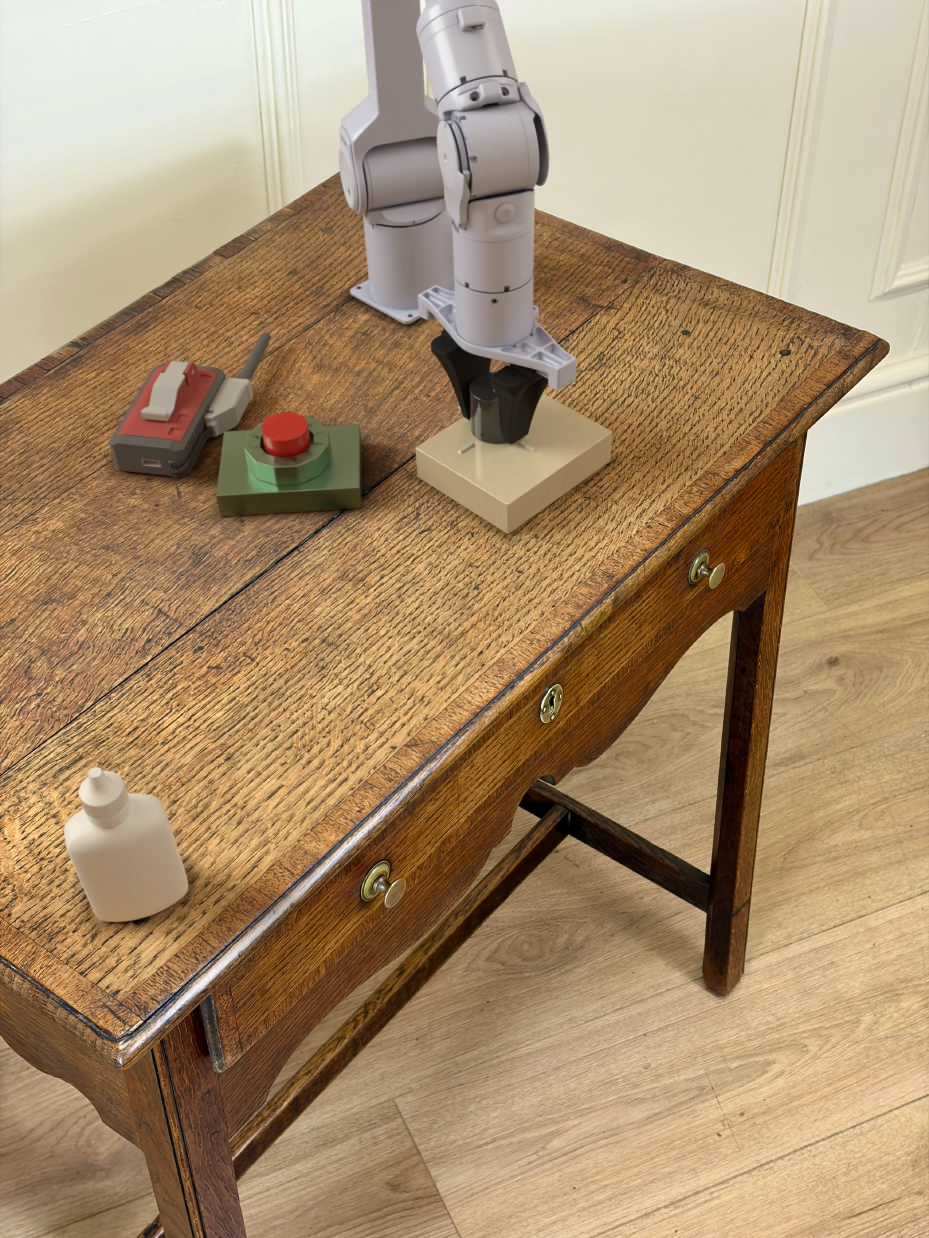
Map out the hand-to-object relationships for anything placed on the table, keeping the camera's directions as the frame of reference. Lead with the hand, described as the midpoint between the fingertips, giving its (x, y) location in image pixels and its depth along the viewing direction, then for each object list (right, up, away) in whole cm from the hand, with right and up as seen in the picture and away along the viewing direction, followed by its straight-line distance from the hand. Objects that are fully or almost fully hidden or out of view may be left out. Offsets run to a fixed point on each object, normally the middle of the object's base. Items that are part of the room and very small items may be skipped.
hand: (496, 425), depth 103 cm
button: (-16, -2, -1) cm, 16 cm away
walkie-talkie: (-25, +2, +8) cm, 27 cm away
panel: (+1, -3, +1) cm, 4 cm away
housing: (-16, -4, +1) cm, 17 cm away
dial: (0, 0, 0) cm, 0 cm away
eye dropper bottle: (-22, -32, -25) cm, 46 cm away
